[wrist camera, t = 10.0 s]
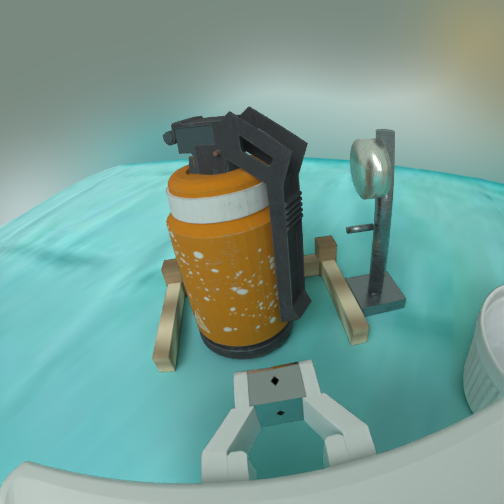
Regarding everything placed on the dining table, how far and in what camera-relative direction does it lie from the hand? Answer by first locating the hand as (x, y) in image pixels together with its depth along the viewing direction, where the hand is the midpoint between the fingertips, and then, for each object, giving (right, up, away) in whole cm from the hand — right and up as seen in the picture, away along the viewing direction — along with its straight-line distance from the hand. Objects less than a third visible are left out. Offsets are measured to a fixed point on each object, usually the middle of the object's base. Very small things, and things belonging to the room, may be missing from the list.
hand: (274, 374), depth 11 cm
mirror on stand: (+12, 0, +19) cm, 23 cm away
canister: (0, -3, +18) cm, 18 cm away
